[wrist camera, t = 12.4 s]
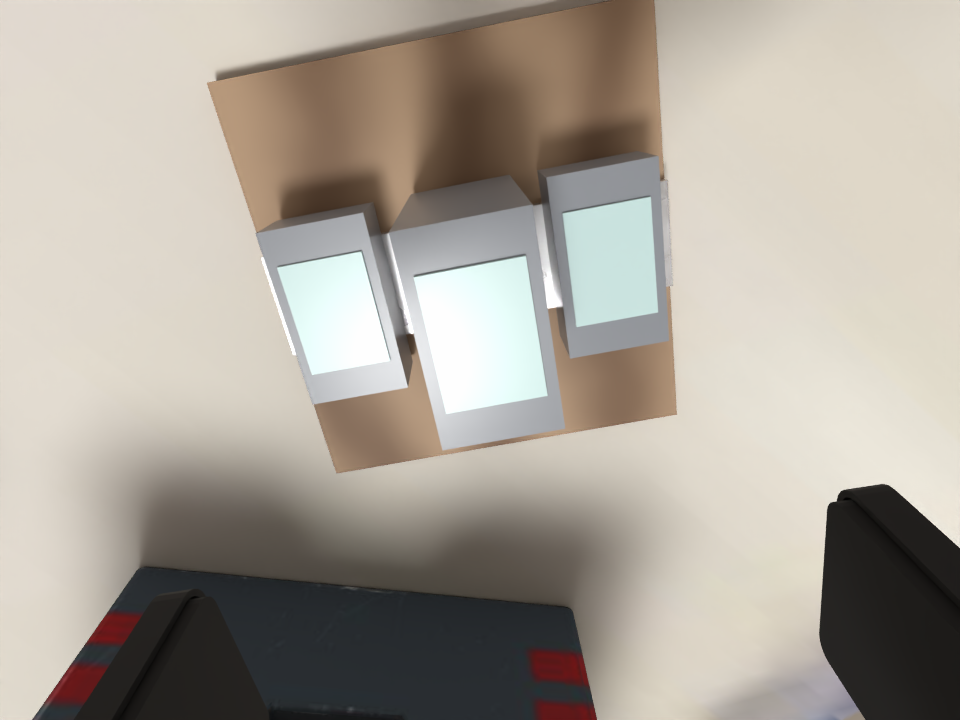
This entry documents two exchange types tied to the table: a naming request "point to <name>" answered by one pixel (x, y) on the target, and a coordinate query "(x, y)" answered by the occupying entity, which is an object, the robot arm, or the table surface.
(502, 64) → the board
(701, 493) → the table surface
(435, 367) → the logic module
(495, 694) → the power unit
